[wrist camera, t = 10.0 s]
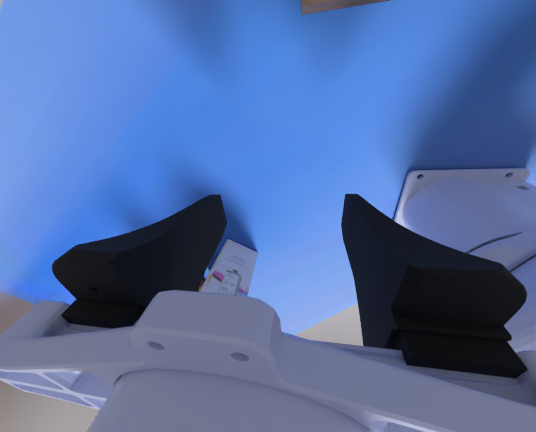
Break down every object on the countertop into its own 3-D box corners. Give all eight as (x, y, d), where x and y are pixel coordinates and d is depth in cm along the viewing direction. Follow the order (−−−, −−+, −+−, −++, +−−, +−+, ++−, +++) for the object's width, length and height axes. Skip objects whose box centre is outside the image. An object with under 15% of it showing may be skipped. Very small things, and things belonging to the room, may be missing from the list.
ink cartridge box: (237, 283, 34) (199, 399, 22) (209, 270, 33) (154, 383, 21) (260, 252, 29) (228, 378, 17) (228, 236, 28) (171, 356, 16)
